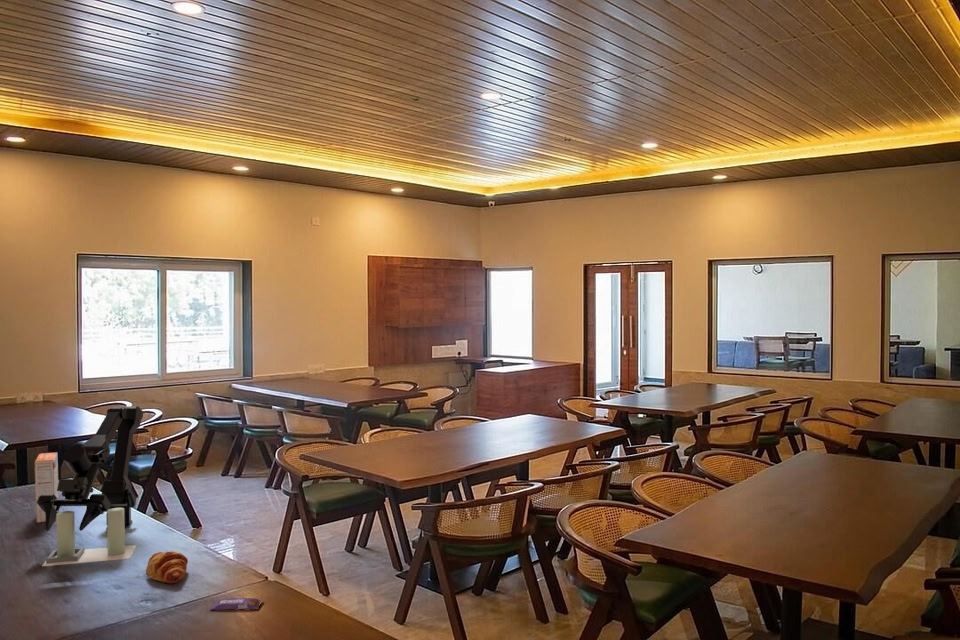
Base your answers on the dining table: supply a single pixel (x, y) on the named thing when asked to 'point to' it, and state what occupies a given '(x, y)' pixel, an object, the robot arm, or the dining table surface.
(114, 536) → the fixed pillar
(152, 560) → the croissant
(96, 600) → the dining table surface
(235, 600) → the snack package
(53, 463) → the cracker box
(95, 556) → the base plate
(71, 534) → the pillar
